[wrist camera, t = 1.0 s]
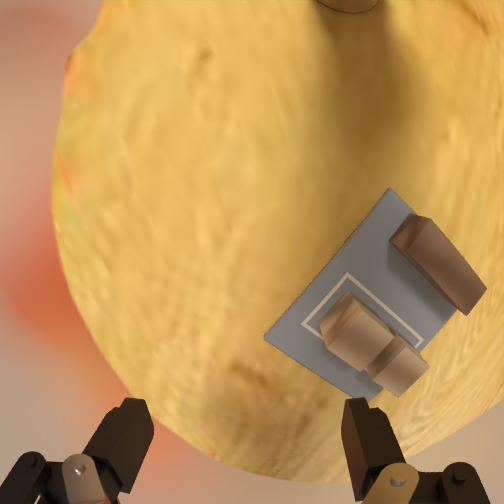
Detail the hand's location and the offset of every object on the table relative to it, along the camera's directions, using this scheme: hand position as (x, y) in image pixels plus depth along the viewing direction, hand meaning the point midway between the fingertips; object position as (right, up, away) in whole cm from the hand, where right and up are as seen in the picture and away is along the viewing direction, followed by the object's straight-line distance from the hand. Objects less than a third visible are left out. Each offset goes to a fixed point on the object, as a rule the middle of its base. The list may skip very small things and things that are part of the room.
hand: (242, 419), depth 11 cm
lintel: (+21, +6, +21) cm, 30 cm away
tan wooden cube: (+11, -1, +23) cm, 26 cm away
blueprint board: (+16, 0, +24) cm, 28 cm away
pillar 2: (+17, -5, +24) cm, 30 cm away
